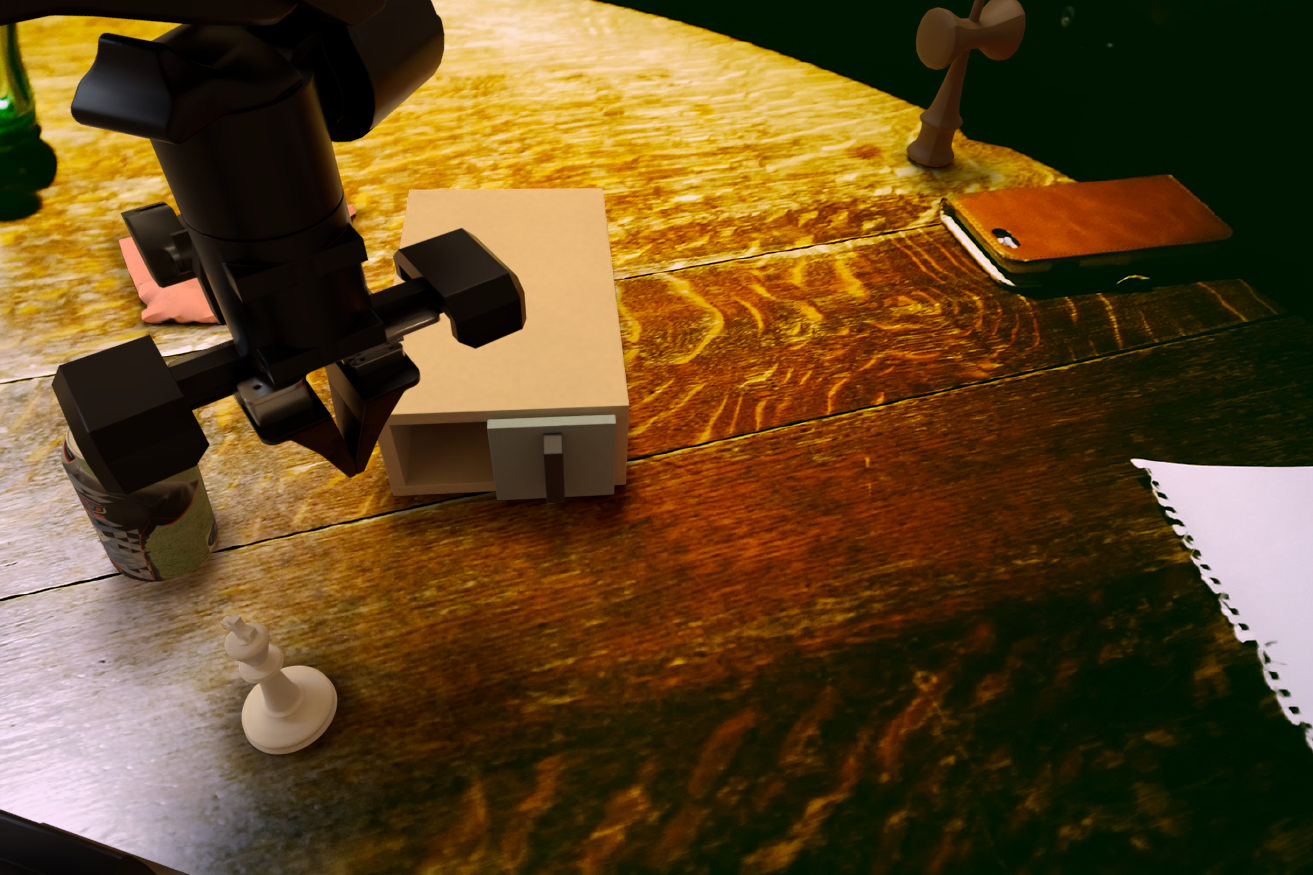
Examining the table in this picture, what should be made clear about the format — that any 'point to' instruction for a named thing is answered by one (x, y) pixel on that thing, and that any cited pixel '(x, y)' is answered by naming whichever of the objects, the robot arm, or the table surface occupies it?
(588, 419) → the closet door
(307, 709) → the chess piece
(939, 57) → the kendama
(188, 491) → the beverage can
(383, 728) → the table surface
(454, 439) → the box
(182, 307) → the cloth
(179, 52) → the robot arm
